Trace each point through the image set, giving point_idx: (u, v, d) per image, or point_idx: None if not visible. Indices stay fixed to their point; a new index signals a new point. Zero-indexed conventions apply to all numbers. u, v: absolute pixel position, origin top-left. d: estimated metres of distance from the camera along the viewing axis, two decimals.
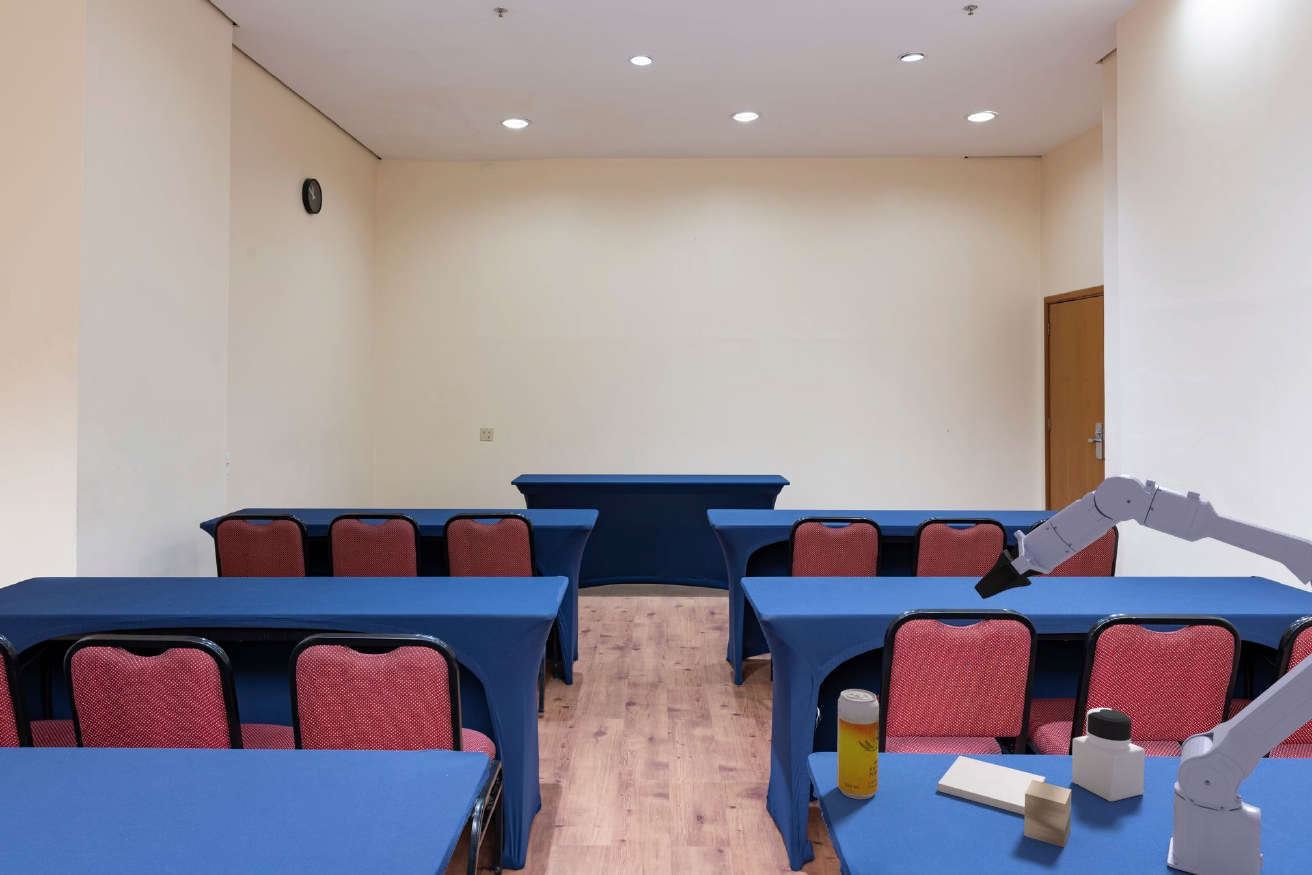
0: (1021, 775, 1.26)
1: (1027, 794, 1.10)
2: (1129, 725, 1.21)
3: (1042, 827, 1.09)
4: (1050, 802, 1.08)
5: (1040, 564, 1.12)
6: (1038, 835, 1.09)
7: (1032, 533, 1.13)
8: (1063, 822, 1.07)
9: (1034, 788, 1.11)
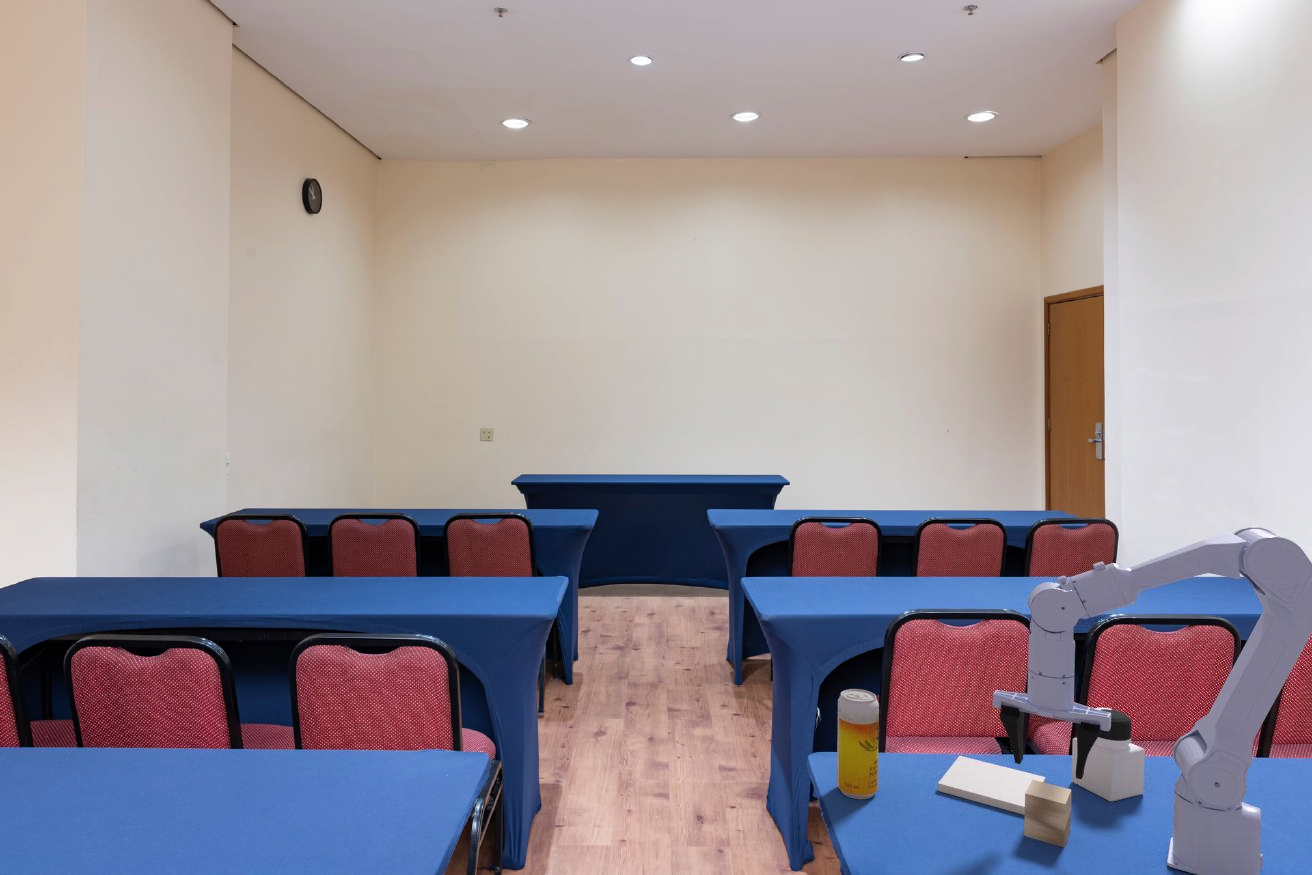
0: (1021, 775, 1.26)
1: (1027, 794, 1.10)
2: (1129, 725, 1.21)
3: (1042, 828, 1.09)
4: (1051, 802, 1.08)
5: None
6: (1038, 835, 1.09)
7: (1057, 699, 1.07)
8: (1063, 822, 1.07)
9: (1034, 788, 1.11)
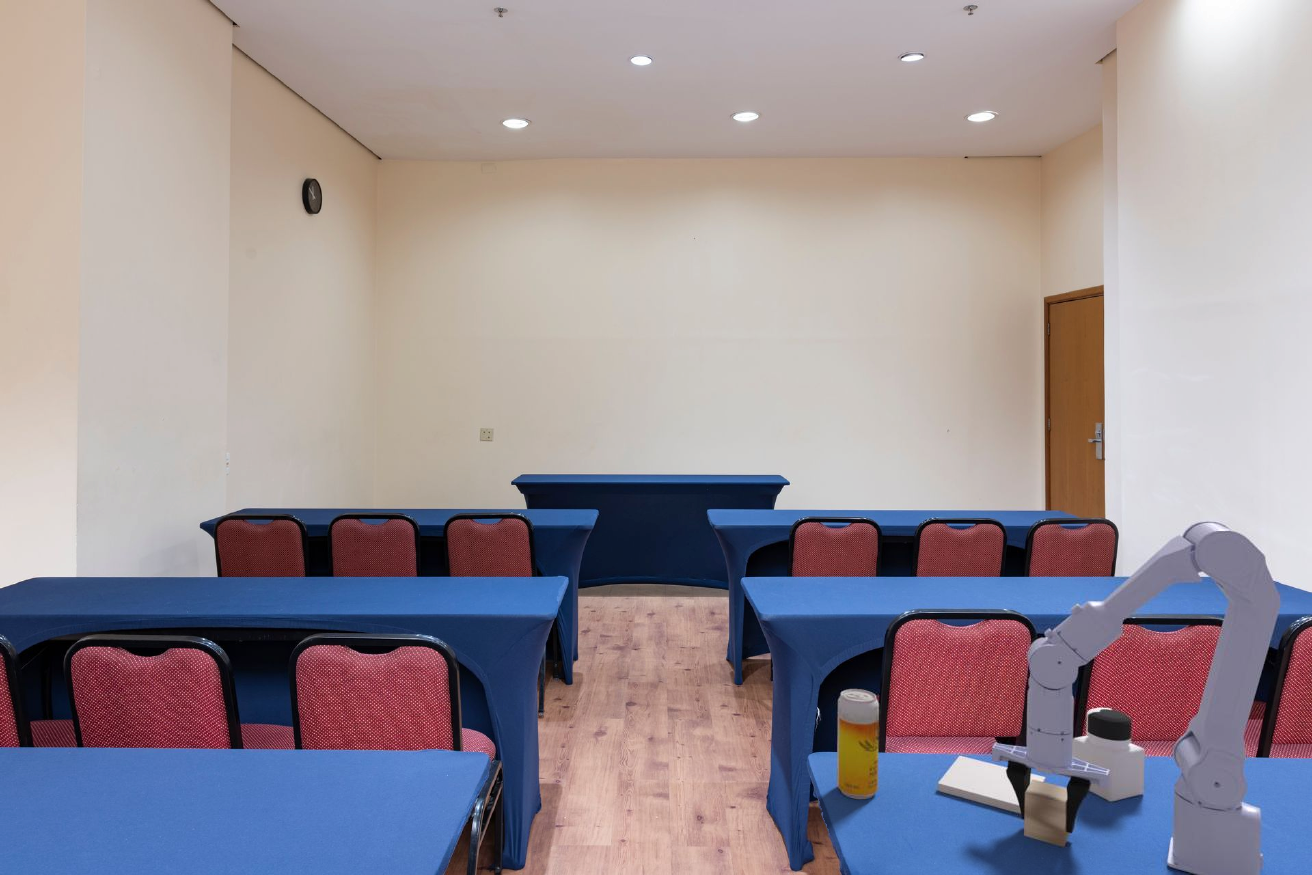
0: None
1: (1027, 793, 1.10)
2: (1129, 725, 1.21)
3: (1042, 827, 1.09)
4: (1050, 801, 1.08)
5: (1072, 759, 1.10)
6: (1038, 834, 1.09)
7: (1055, 755, 1.08)
8: (1063, 821, 1.07)
9: (1034, 788, 1.11)
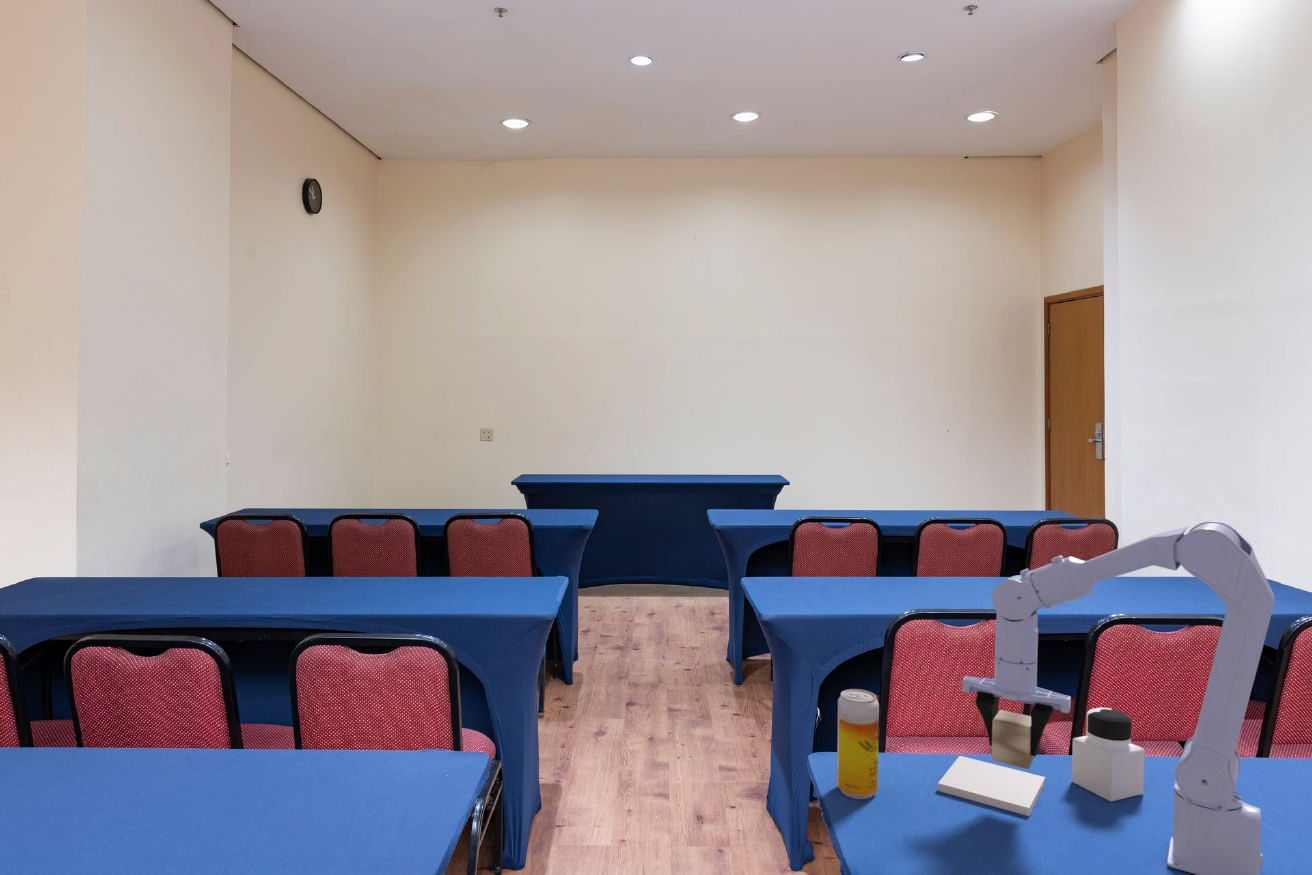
0: (1021, 775, 1.26)
1: (994, 720, 1.17)
2: (1129, 725, 1.21)
3: (1008, 751, 1.16)
4: (1016, 727, 1.16)
5: (1036, 688, 1.18)
6: (1004, 759, 1.17)
7: (1021, 683, 1.15)
8: (1027, 745, 1.15)
9: (1001, 716, 1.19)
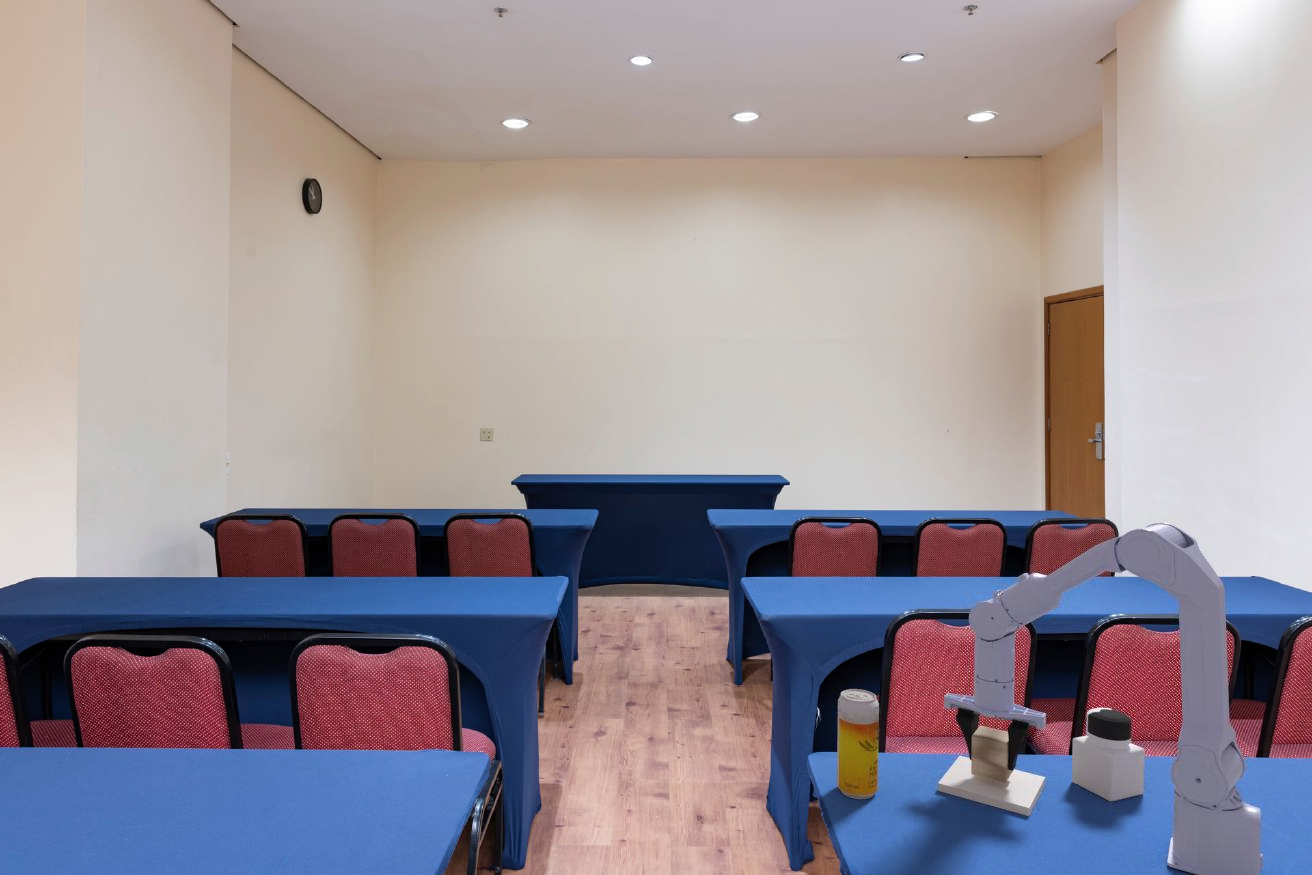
0: (1021, 775, 1.26)
1: (974, 736, 1.23)
2: (1129, 725, 1.21)
3: (987, 766, 1.22)
4: (994, 742, 1.21)
5: (1013, 706, 1.23)
6: (983, 773, 1.22)
7: (998, 701, 1.21)
8: (1005, 760, 1.20)
9: (980, 732, 1.25)
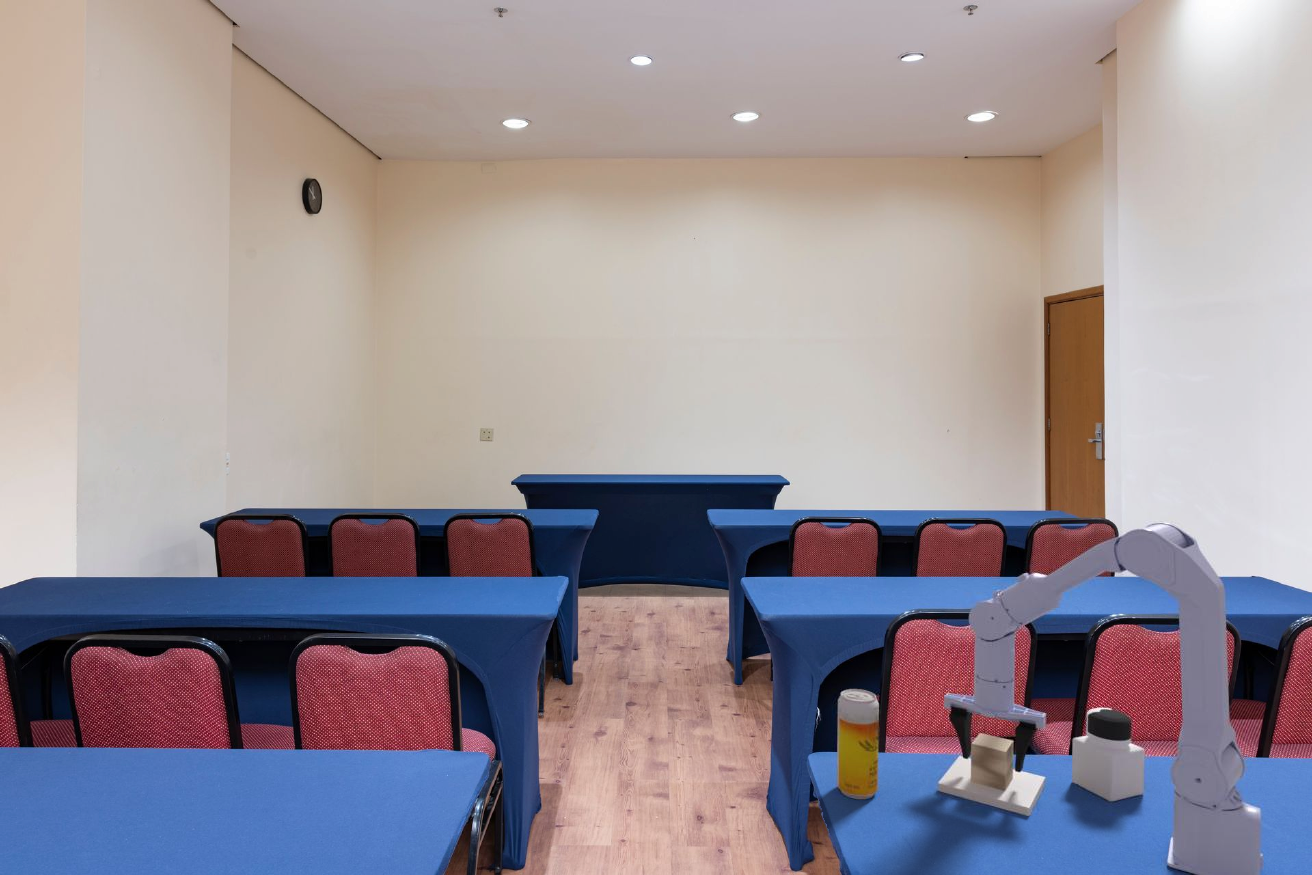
0: (1021, 775, 1.26)
1: (973, 744, 1.23)
2: (1129, 725, 1.21)
3: (986, 773, 1.22)
4: (993, 750, 1.21)
5: (1013, 705, 1.23)
6: (983, 780, 1.22)
7: (998, 701, 1.21)
8: (1004, 768, 1.21)
9: (980, 739, 1.25)
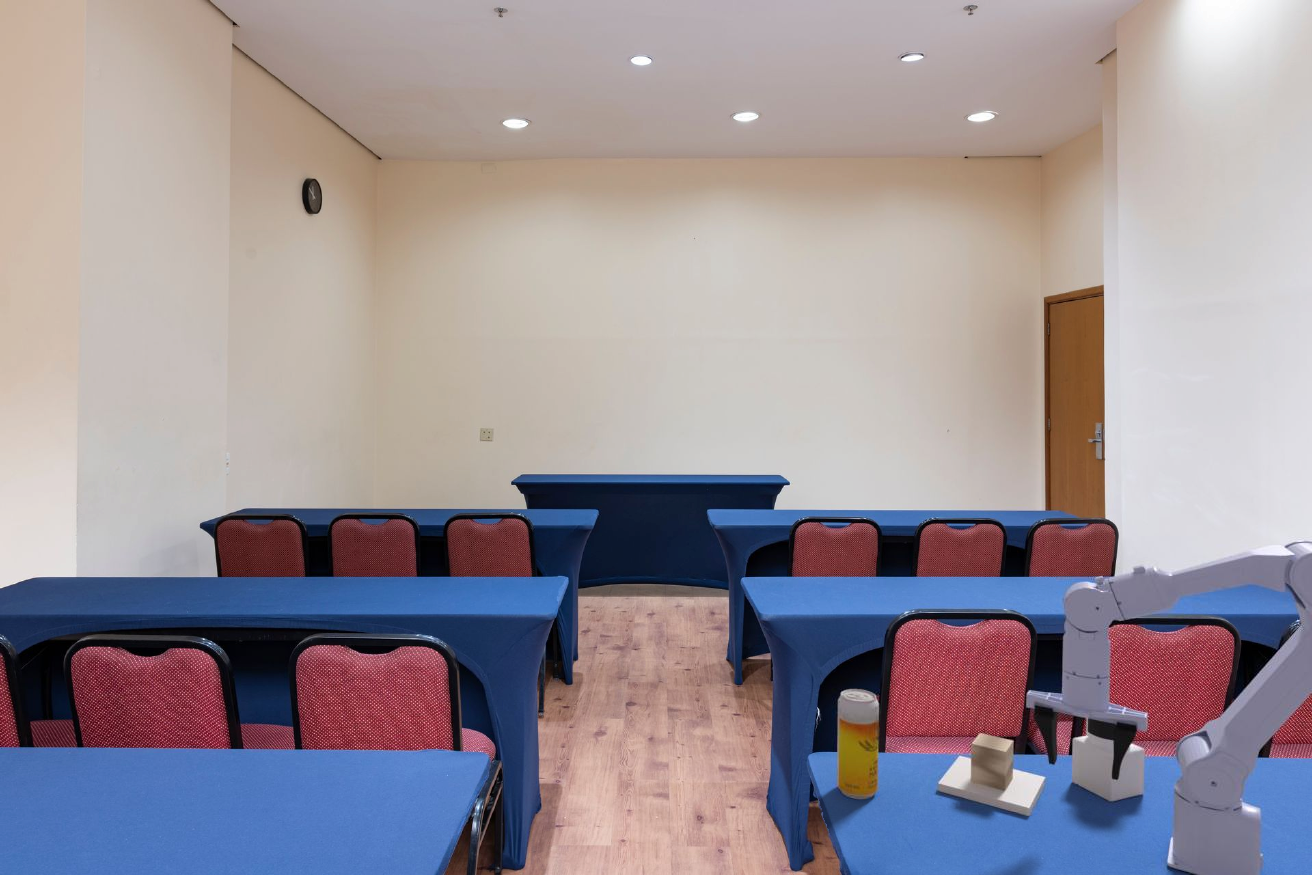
0: (1021, 775, 1.26)
1: (973, 744, 1.23)
2: None
3: (986, 773, 1.22)
4: (993, 750, 1.21)
5: (1108, 704, 1.09)
6: (983, 780, 1.22)
7: (1093, 699, 1.07)
8: (1004, 768, 1.21)
9: (980, 739, 1.25)
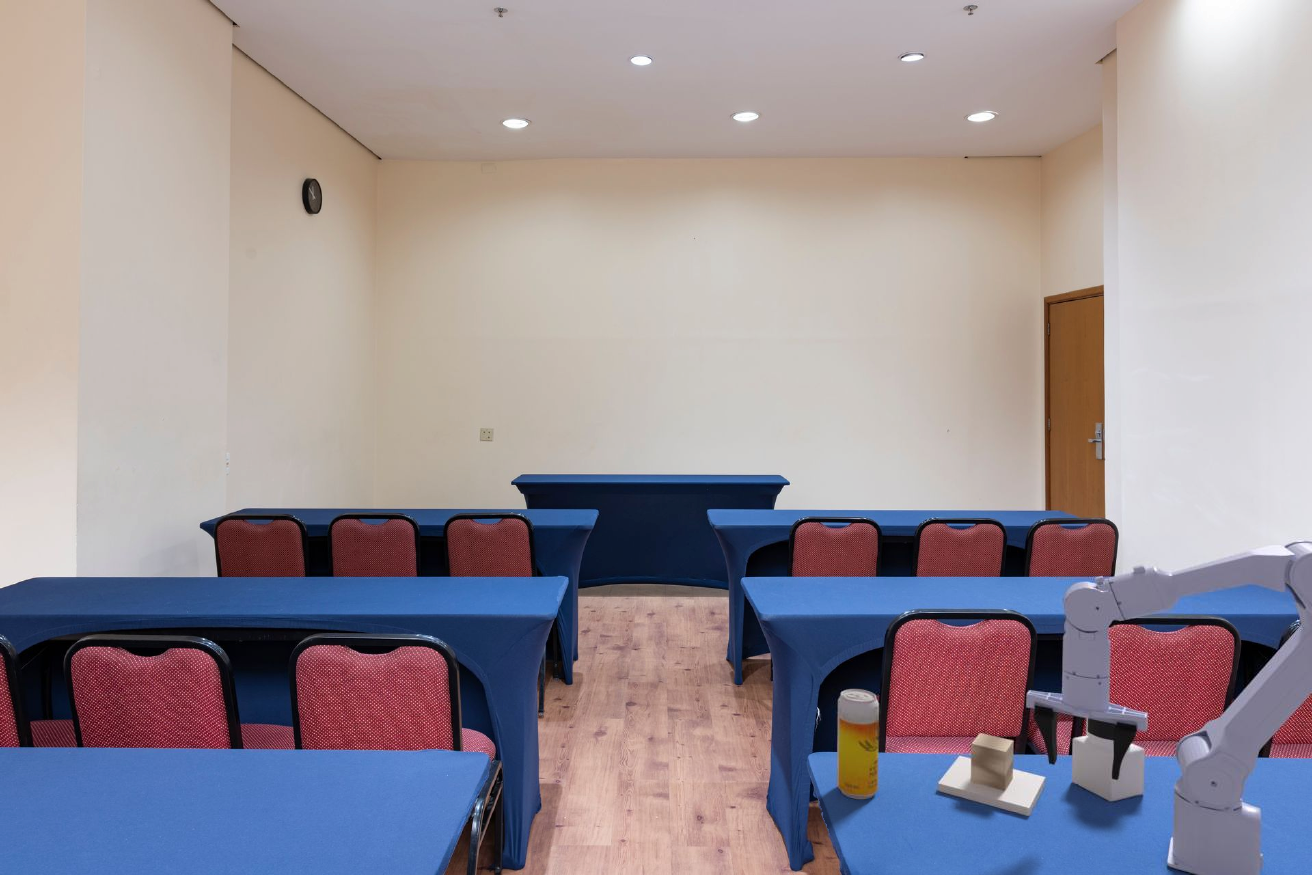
0: (1021, 775, 1.26)
1: (973, 744, 1.23)
2: None
3: (986, 773, 1.22)
4: (993, 750, 1.21)
5: None
6: (983, 780, 1.22)
7: (1093, 699, 1.07)
8: (1004, 768, 1.21)
9: (980, 739, 1.25)
